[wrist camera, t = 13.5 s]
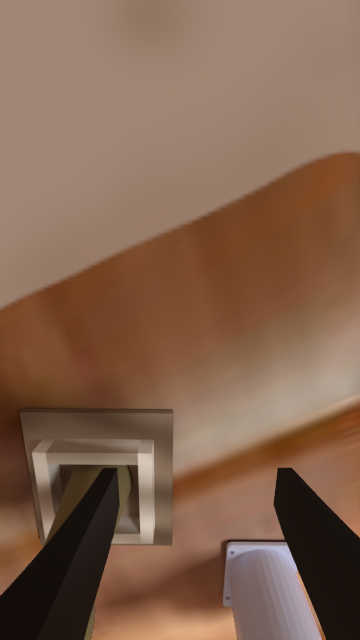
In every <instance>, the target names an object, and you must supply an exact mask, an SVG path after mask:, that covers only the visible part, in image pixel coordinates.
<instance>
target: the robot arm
mask: <svg viewBox="0 0 360 640" xmlns="http://www.w3.org/2000/svg"><path fill="white" fill-rule="evenodd" d="M119 506H120V500H119V485H118V471H117V468H103V469H102V470H101V471H100V473H99V474H98V476H97V477H96V479H95V480H94V482H93V483H92V485H91V486H90V487H89V489H88V490H87V492H86V493H85V494H84V496H83V497H82V499H81V500H80V501H79V503H78V504H77V505H76V507H75V508H74V509H73V511H72V512H71V513H70V515H69V516H68V517H67V519H66V520H65V521H64V523H63V524H62V525H61V526H60V528H59V529H58V530H57V531H56V533H55V534H54V535H53V536H52V538H51V539H50V540H49V541H48V543H47V544H46V545H45V546H44V547H43V549H42V550H41V551H40V552H39V553H38V555H37V556H36V557H35V558H34V559H33V560H32V562H31V563H30V564H29V565H28V566H27V567H26V568H25V570H24V571H23V572H22V573H21V574H20V575H19V576H18V577H17V578H16V580H15V581H14V582H13V583H12V584H11V585H10V586H9V587H8V588H7V589H6V590H5V592H4V593H3V594H2V595H1V596H0V640H84V638H85V634H86V631H87V627H88V623H89V619H90V615H91V612H92V609H93V605H94V602H95V598H96V595H97V591H98V588H99V585H100V581H101V578H102V574H103V571H104V567H105V564H106V560H107V557H108V553H109V550H110V547H111V543H112V539H113V536H114V531H115V527H116V522H117V517H118V512H119ZM274 507H275V510H276V514H277V517H278V520H279V523H280V526H281V529H282V532H283V535H284V538H285V540H286V542H229V543H228V544H227V548H226V561H225V574H224V587H223V605H224V606H225V607H232V610H233V617H234V623H235V629H236V636H237V640H322V639H321V636H320V634H319V631H318V628H317V626H316V623H315V621H314V618H313V616H312V613H311V610H310V608H309V605H308V603H307V600H306V598H305V595H304V592H303V590H302V587H301V585H300V582H299V580H298V577H297V569H298V572H299V574H300V576H301V579H302V581H303V583H304V586H305V588H306V591H307V593H308V595H309V598H310V600H311V603H312V605H313V607H314V610H315V612H316V614H317V617H318V619H319V622H320V625H321V627H322V630H323V632H324V635H325V637H326V640H360V538H359V537H358V536H357V535H356V534H355V533H354V532H353V531H352V530H351V529H350V528H349V527H348V526H347V525H346V524H345V523H344V522H343V521H342V520H341V519H340V518H339V517H338V516H337V515H336V514H335V513H334V512H333V511H332V510H331V509H330V508H329V507H328V506H327V505H326V504H325V503H324V502H323V501H322V499H321V498H320V497H319V496H318V495H317V494H316V493H315V492H314V491H313V490H312V489H311V488H310V487H309V486H308V485H307V484H306V483H305V481H304V480H303V479H302V478H301V477H300V476H299V475H298V474H297V473H296V472H295V471H294V470H293V469H292V468H278V472H277V480H276V489H275V497H274Z"/></svg>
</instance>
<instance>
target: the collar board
mask: <svg viewBox="0 0 360 640" xmlns="http://www.w3.org/2000/svg"><path fill="white" fill-rule="evenodd" d="M20 418H21V424H22V430H23V436H24V442H25V449H26V455H27V461H28V467H29V473H30V479H31V485H32V492H33V498H34V504H35V510H36V516H37V522H38V528H39V535H40V541H41V545H44V544H45V542H46V539H47V536H48V534H49V531H50V529H51V526H52V523H53V521H54V518H55V516H56V513H57V510H58V508H59V505H60V502H61V500H62V497H63V495H64V492H65V489H66V487H67V484H68V482H69V479H70V476H71V474H72V471H73V469H74V466H75V465H76V464H86V465H127V466H128V467H129V468H130V470H131V473H132V475H133V485H132V487H131V490H130V493H129V496H128V498H127V501H126V504H125V507H124V510H123V512H122V515H121V518H120V521H119V523H118V526H117V529H116V532H115V534H114V537H113V540H112V543H111V545H170V546H172V479H173V410H155V409H47V408H24V409H23V410H22V411H20Z"/></svg>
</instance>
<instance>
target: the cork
mask: <svg viewBox="0 0 360 640" xmlns="http://www.w3.org/2000/svg"><path fill="white" fill-rule="evenodd" d="M103 468H117V471H118V485H119V500H120V506H119V512H118V517H117V522H116V527H115V531H114V534H115V532H116V529H117V526H118V523H119V521H120V518H121V515H122V512H123V510H124V507H125V504H126V501H127V498H128V496H129V493H130V490H131V487H132V485H133V475H132V473H131V470H130V468H129V467H128V466H127V465H86V464H76V465H75V466H74V469H73V471H72V474H71V476H70V479H69V482H68V484H67V487H66V489H65V492H64V495H63V497H62V500H61V502H60V505H59V508H58V510H57V513H56V516H55V518H54V521H53V523H52V526H51V529H50V531H49V534H48V536H47V539H46V542H45V544H44V546H45V545H46V544H47V543H48V541H49V540H50V539H51V538H52V536H53V535H54V534H55V533H56V531H57V530H58V529H59V528H60V526H61V525H62V524H63V523H64V521H65V520H66V519H67V517H68V516H69V515H70V513H71V512H72V511H73V509H74V508H75V507H76V505H77V504H78V503H79V501H80V500H81V499H82V497H83V496H84V494H85V493H86V492H87V490H88V489H89V487H90V486H91V485H92V483H93V482H94V480H95V479H96V477H97V476H98V474H99V473H100V471H101V470H102V469H103ZM113 537H114V536H113ZM112 540H113V539H112ZM94 620H95V602H94V605H93V609H92V612H91V615H90V619H89V623H88V627H87V631H86V634H85V638H84V640H91V637H92V632H93V628H94Z"/></svg>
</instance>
